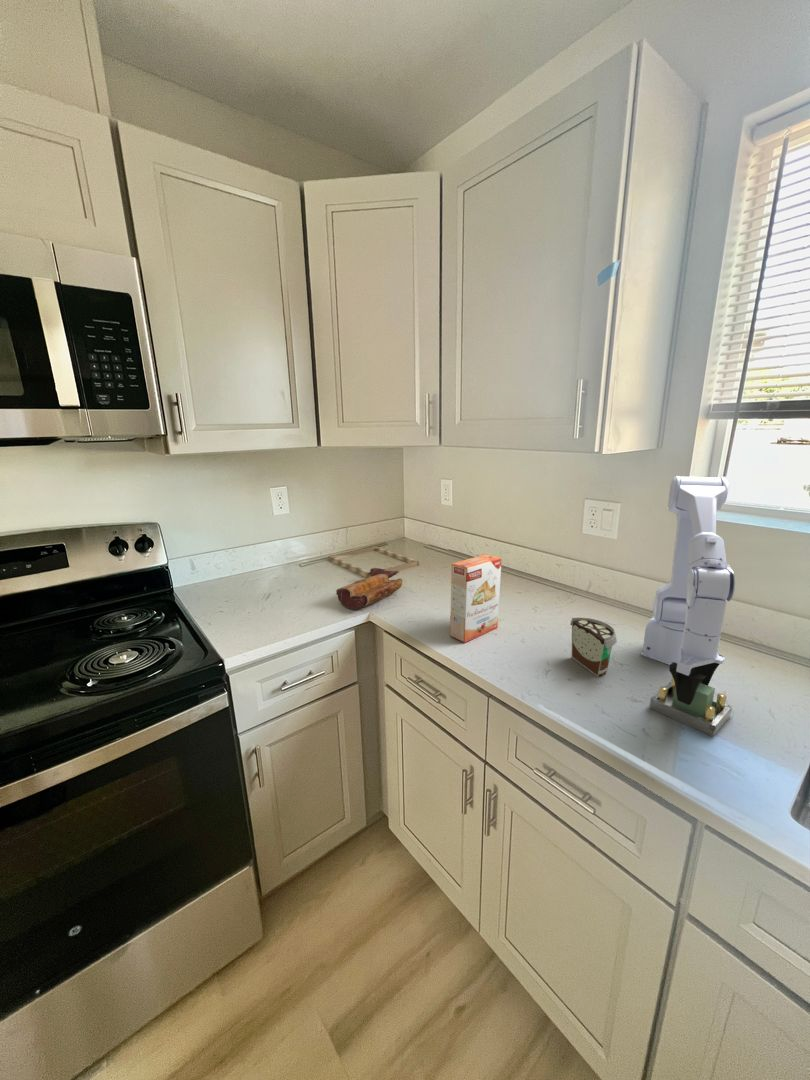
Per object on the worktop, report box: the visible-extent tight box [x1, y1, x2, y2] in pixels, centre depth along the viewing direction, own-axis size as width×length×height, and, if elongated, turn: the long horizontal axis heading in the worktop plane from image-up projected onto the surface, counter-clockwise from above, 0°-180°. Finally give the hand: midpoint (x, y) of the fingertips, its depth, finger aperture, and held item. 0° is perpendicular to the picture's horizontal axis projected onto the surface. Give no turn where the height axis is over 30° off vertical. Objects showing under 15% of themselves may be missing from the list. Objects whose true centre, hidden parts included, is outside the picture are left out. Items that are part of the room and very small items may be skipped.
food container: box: [569, 617, 617, 678], centre depth 103 cm, size 12×6×10 cm, turn 17°
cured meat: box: [335, 567, 403, 611], centre depth 148 cm, size 18×25×7 cm
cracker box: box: [449, 553, 502, 644], centre depth 119 cm, size 14×6×21 cm, turn 130°
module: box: [672, 683, 716, 719], centre depth 85 cm, size 6×4×6 cm, turn 38°
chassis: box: [649, 675, 733, 737], centre depth 86 cm, size 11×9×4 cm
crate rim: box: [328, 546, 420, 579], centre depth 183 cm, size 31×24×3 cm
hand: (692, 694), depth 85 cm, fingers open, 7 cm apart
